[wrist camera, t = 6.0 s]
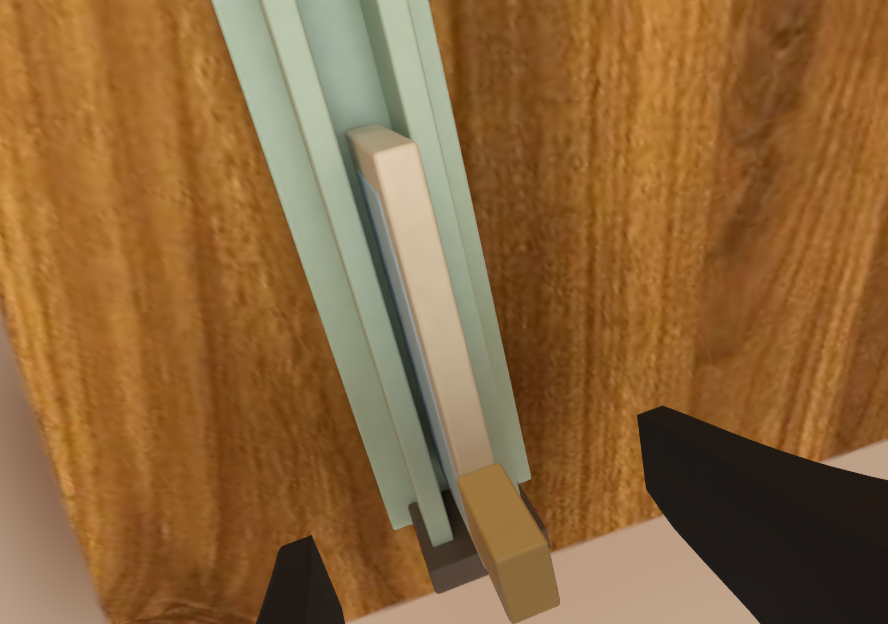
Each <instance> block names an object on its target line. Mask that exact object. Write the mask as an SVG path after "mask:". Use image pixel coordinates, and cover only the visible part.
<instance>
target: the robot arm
mask: <svg viewBox="0 0 888 624" xmlns="http://www.w3.org/2000/svg"><path fill="white" fill-rule="evenodd" d="M637 418H638V426H639V435H640V443H641V451H642V459H643V468H644V476H645V484H646V490H647V491H648V492H649V494H650V495H651V497H652V498H653V500H654V501H655V503H656V504H657V506H658V507H659V508H660V510H661V511H662V513H663V514H664V515H665V517H666V518H667V519H668V521H669V522H670V524H671V525H672V526H673V528H674V529H675V530H676V531H677V532H678V533H679V535H680V536H681V537H682V538H683V539H684V540H685V541H686V542H687V543H688V545H689V546H690V547H691V548H692V549H693V550H694V551H695V552H696V553H697V554H698V555H699V557H700V558H701V559H702V560H703V561H704V562H705V563H706V564H707V565H708V566H709V568H710V569H711V570H712V571H713V572H714V573H715V574H716V575H717V576H718V577H719V578H720V579H721V580H722V582H723V583H724V584H725V585H726V586H727V587H728V588H729V589H730V590H731V591H732V592H733V594H734V595H736V597H737V598H738V599H739V600H740V601H741V602H742V603H743V604H744V605H745V607H746V608H747V609H748V610H749V611H750V612H751V613H752V615H753V616H754V617H755V618H756V619H757V620H758V622H759V623H760V624H888V480H884V479H880V478H875V477H871V476H867V475H863V474H859V473H855V472H851V471H847V470H843V469H839V468H835V467H831V466H828V465H825V464H821V463H818V462H814V461H811V460H808V459H805V458H802V457H799V456H795V455H792V454H789V453H786V452H783V451H780V450H777V449H774V448H771V447H769V446H766V445H763V444H760V443H758V442H755V441H752V440H749V439H747V438H744V437H742V436H739V435H736V434H734V433H731V432H729V431H726V430H723V429H721V428H718V427H716V426H713V425H711V424H708V423H706V422H703V421H701V420H699V419H696V418H694V417H691V416H689V415H686V414H684V413H681V412H678V411H676V410H673V409H670V408H668V407H665V406H660V407H657V408H655V409H652V410H649V411H647V412H644V413H641V414H638V415H637ZM256 624H345V621H344V616H343V611H342V607H341V605H340V602H339V600H338V597H337V595H336V593H335V590H334V588H333V585H332V583H331V580H330V578H329V576H328V573H327V571H326V568H325V566H324V564H323V561H322V559H321V556H320V554H319V552H318V549H317V547H316V544H315V542H314V540H313V537H312V535H311V536H308V537H305V538H303V539H300V540H297V541H295V542H292V543H289V544H287V545H284V546H282V547H281V548H280V550H279V552H278V554H277V558H276V562H275V566H274V569H273V573H272V576H271V579H270V583H269V586H268V589H267V592H266V595H265V598H264V602H263V605H262V608H261V610H260V613H259V616H258V619H257V622H256Z"/></svg>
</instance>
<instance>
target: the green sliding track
mask: <svg viewBox="0 0 888 624" xmlns="http://www.w3.org/2000/svg"><path fill="white" fill-rule="evenodd" d="M211 1H212V4H213V7H214V10H215V13H216V16H217V19H218V22H219V25H220V28H221V30H222V33H223V36H224V39H225V42H226V45H227V48H228V51H229V54H230V57H231V60H232V62H233V65H234V68H235V71H236V74H237V77H238V80H239V83H240V86H241V89H242V92H243V94H244V97H245V100H246V103H247V106H248V109H249V112H250V115H251V118H252V121H253V124H254V126H255V129H256V132H257V135H258V138H259V141H260V144H261V147H262V150H263V153H264V156H265V158H266V161H267V164H268V167H269V170H270V173H271V176H272V179H273V182H274V185H275V188H276V190H277V193H278V196H279V199H280V202H281V205H282V208H283V211H284V214H285V217H286V220H287V222H288V225H289V228H290V231H291V234H292V237H293V240H294V243H295V246H296V249H297V252H298V254H299V257H300V260H301V263H302V266H303V269H304V272H305V275H306V278H307V281H308V284H309V286H310V289H311V292H312V295H313V298H314V301H315V304H316V307H317V310H318V313H319V316H320V318H321V321H322V324H323V327H324V330H325V333H326V336H327V339H328V342H329V345H330V348H331V350H332V353H333V356H334V359H335V362H336V365H337V368H338V371H339V374H340V377H341V380H342V382H343V385H344V388H345V391H346V394H347V397H348V400H349V403H350V406H351V409H352V412H353V414H354V417H355V420H356V423H357V426H358V429H359V432H360V435H361V438H362V441H363V444H364V446H365V449H366V452H367V455H368V458H369V461H370V464H371V467H372V470H373V473H374V476H375V478H376V481H377V484H378V487H379V490H380V493H381V496H382V499H383V502H384V505H385V508H386V510H387V513H388V516H389V519H390V522H391V525H392V528H393V530H398V529H400V528H403V527H406V526H408V525H411V524H413V525H414V528H415V532H416V535H417V538H418V541H419V544H420V547H421V550H422V553H423V556H424V559H425V562H426V565H427V568H428V571H429V574H430V577H431V581H432V584H433V587H434V590H435V592H436V593H437V594H440V593H443V592H445V591H448V590H450V589H453V588H455V587H458V586H460V585H463V584H465V583H468V582H470V581H473V580H475V579H478V578H480V577H483V576H485V575H488V574H489V573H488V571H487V569H486V568H485V567H484V566H483V564H482V561H481V559H480V557H479V555H478V552H477V550H476V548H475V545H474V543H473V541H472V539H471V536H470V534H469V532H468V530H467V527H466V525H465V523H464V520H463V518H462V516H461V514H460V511H459V509H458V507H457V505H456V502H455V500H454V498H453V495H452V493H451V491H450V489H449V486H448V484H447V482H446V480H445V477H444V475H443V473H442V470H441V468H440V464H439V461H438V457H437V454H436V450H435V447H434V443H433V440H432V436H431V433H430V429H429V426H428V422H427V419H426V415H425V412H424V408H423V405H422V401H421V398H420V395H419V391H418V388H417V384H416V381H415V377H414V374H413V370H412V367H411V363H410V360H409V356H408V353H407V349H406V346H405V342H404V339H403V335H402V332H401V328H400V325H399V321H398V318H397V314H396V311H395V308H394V304H393V301H392V297H391V294H390V290H389V287H388V283H387V280H386V276H385V273H384V269H383V266H382V262H381V259H380V255H379V252H378V248H377V245H376V241H375V238H374V234H373V231H372V228H371V224H370V221H369V217H368V214H367V210H366V207H365V203H364V200H363V196H362V193H361V189H360V186H359V182H358V179H357V175H356V172H355V168H354V165H353V161H352V158H351V154H350V151H349V147H348V144H347V140H346V137H345V133H346V132H347V131H349V130H352V129H356V128H360V127H363V126H367V125H371V124H374V123H376V124H380V125H382V126H384V127H386V128H388V129H390V130H392V131H394V132H396V133H398V134H400V135H402V136H404V137H406V138H408V139H410V140H412V141H414V142H416V144H417V145H418V148H419V152H420V156H421V160H422V164H423V168H424V173H425V177H426V181H427V185H428V189H429V193H430V197H431V201H432V206H433V210H434V214H435V218H436V222H437V226H438V230H439V235H440V239H441V243H442V247H443V251H444V255H445V259H446V263H447V268H448V272H449V276H450V280H451V284H452V288H453V292H454V297H455V301H456V305H457V309H458V313H459V317H460V321H461V325H462V330H463V334H464V338H465V342H466V346H467V350H468V354H469V359H470V363H471V367H472V371H473V375H474V379H475V383H476V387H477V392H478V396H479V400H480V404H481V408H482V412H483V416H484V420H485V425H486V429H487V433H488V437H489V441H490V445H491V449H492V454H493V458H494V462H495V464H496V463H500V464H501V465H502V467H503V468H504V470H505V472H506V473H507V475H508V477H509V478H510V480H511V482H512V483H513V485H514V487H515V488H516V490H517V492H518V493H519V495H520V497H521V498H522V500H523V502H524V503H525V505H526V507H527V508H528V510H529V512H530V513H531V515H532V517H533V518H534V520H535V522H536V523H537V525H538V527H539V528H540V530H541V532H542V533H543V535H544V537H545V539H546V540H547V542H548V546H549V549H550V543H549V538H548V534H547V529H546V527H545V525H544V524H543V522H542V520H541V519H540V517H539V515H538V514H537V512H536V511H535V509H534V507H533V506H532V504H531V502H530V501H529V499H528V498H527V496H526V494H525V493H524V491H523V489H522V488H521V486H520V483H523V482H525V481H528V480H530V479H531V474H530V470H529V465H528V460H527V456H526V451H525V447H524V442H523V437H522V433H521V428H520V423H519V419H518V414H517V409H516V405H515V400H514V395H513V391H512V386H511V381H510V377H509V372H508V367H507V363H506V358H505V353H504V349H503V344H502V339H501V335H500V330H499V326H498V321H497V316H496V312H495V307H494V302H493V298H492V293H491V288H490V284H489V279H488V274H487V270H486V265H485V260H484V256H483V251H482V246H481V242H480V237H479V232H478V228H477V223H476V218H475V214H474V209H473V204H472V200H471V195H470V191H469V186H468V181H467V177H466V172H465V167H464V163H463V158H462V153H461V149H460V144H459V139H458V135H457V130H456V125H455V121H454V116H453V111H452V107H451V102H450V97H449V93H448V88H447V83H446V79H445V74H444V70H443V65H442V60H441V56H440V51H439V46H438V42H437V37H436V32H435V28H434V23H433V18H432V14H431V9H430V4H429V0H211Z"/></svg>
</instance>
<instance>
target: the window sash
mask: <svg viewBox="0 0 888 624" xmlns="http://www.w3.org/2000/svg"><path fill="white" fill-rule="evenodd" d="M345 137H346V140H347V144H348V147H349V151H350V154H351V158H352V161H353V165H354V168H355V172H356V175H357V179H358V182H359V186H360V189H361V193H362V196H363V200H364V203H365V207H366V210H367V214H368V217H369V221H370V224H371V228H372V231H373V234H374V238H375V241H376V245H377V248H378V252H379V255H380V259H381V262H382V266H383V269H384V273H385V276H386V280H387V283H388V287H389V290H390V294H391V297H392V301H393V304H394V308H395V311H396V314H397V318H398V321H399V325H400V328H401V332H402V335H403V339H404V342H405V346H406V349H407V353H408V356H409V360H410V363H411V367H412V370H413V374H414V377H415V381H416V384H417V388H418V391H419V395H420V398H421V401H422V405H423V408H424V412H425V415H426V419H427V422H428V426H429V429H430V433H431V436H432V440H433V443H434V447H435V450H436V454H437V457H438V461H439V464H440V468H441V470H442V473H443V475H444V477H445V480H446V482H447V484H448V486H449V489H450V491H451V493H452V495H453V498H454V500H455V502H456V505H457V507H458V509H459V511H460V514H461V516H462V518H463V520H464V523H465V525H466V527H467V530H468V532H469V534H470V536H471V539H472V541H473V543H474V545H475V548H476V550H477V552H478V555H479V557H480V559H481V561H482V564H483V566H484V567H485V568H486V569H487V571H488V573H489V576H490V578H491V580H492V582H493V585H494V587H495V589H496V591H497V594H498V596H499V598H500V600H501V602H502V605H503V607H504V609H505V612H506V614H507V616H508V618H509V620H510V621H511V623H513V624H514V623H517V622H520V621H522V620H525V619H527V618H530V617H532V616H534V615H537V614H539V613H542V612H544V611H546V610H549V609H552V608H554V607H556V606H558V605H559V604H560V598H559V594H558V589H557V584H556V580H555V575H554V570H553V565H552V561H551V556H550V551H549V546H548V542H547V540H546V539H545V537H544V535H543V533H542V532H541V530H540V528H539V527H538V525H537V523H536V522H535V520H534V518H533V517H532V515H531V513H530V512H529V510H528V508H527V507H526V505H525V503H524V502H523V500H522V498H521V497H520V495H519V493H518V492H517V490H516V488H515V487H514V485H513V483H512V482H511V480H510V478H509V477H508V475H507V473H506V472H505V470H504V468H503V467H502V465H501V464H500V463H496V464H495V462H494V458H493V454H492V449H491V445H490V441H489V437H488V433H487V429H486V425H485V420H484V416H483V412H482V408H481V404H480V400H479V396H478V392H477V387H476V383H475V379H474V375H473V371H472V367H471V363H470V359H469V354H468V350H467V346H466V342H465V338H464V334H463V330H462V325H461V321H460V317H459V313H458V309H457V305H456V301H455V297H454V292H453V288H452V284H451V280H450V276H449V272H448V268H447V263H446V259H445V255H444V251H443V247H442V243H441V239H440V235H439V230H438V226H437V222H436V218H435V214H434V210H433V206H432V201H431V197H430V193H429V189H428V185H427V181H426V177H425V173H424V168H423V164H422V160H421V156H420V152H419V148H418V145H417V144H416V142H414V141H412V140H410V139H408V138H406V137H404V136H402V135H400V134H398V133H396V132H394V131H392V130H390V129H388V128H386V127H384V126H382V125H380V124H376V123H374V124H371V125H367V126H363V127H360V128H356V129H352V130H349V131H347V132H346V133H345Z"/></svg>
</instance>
